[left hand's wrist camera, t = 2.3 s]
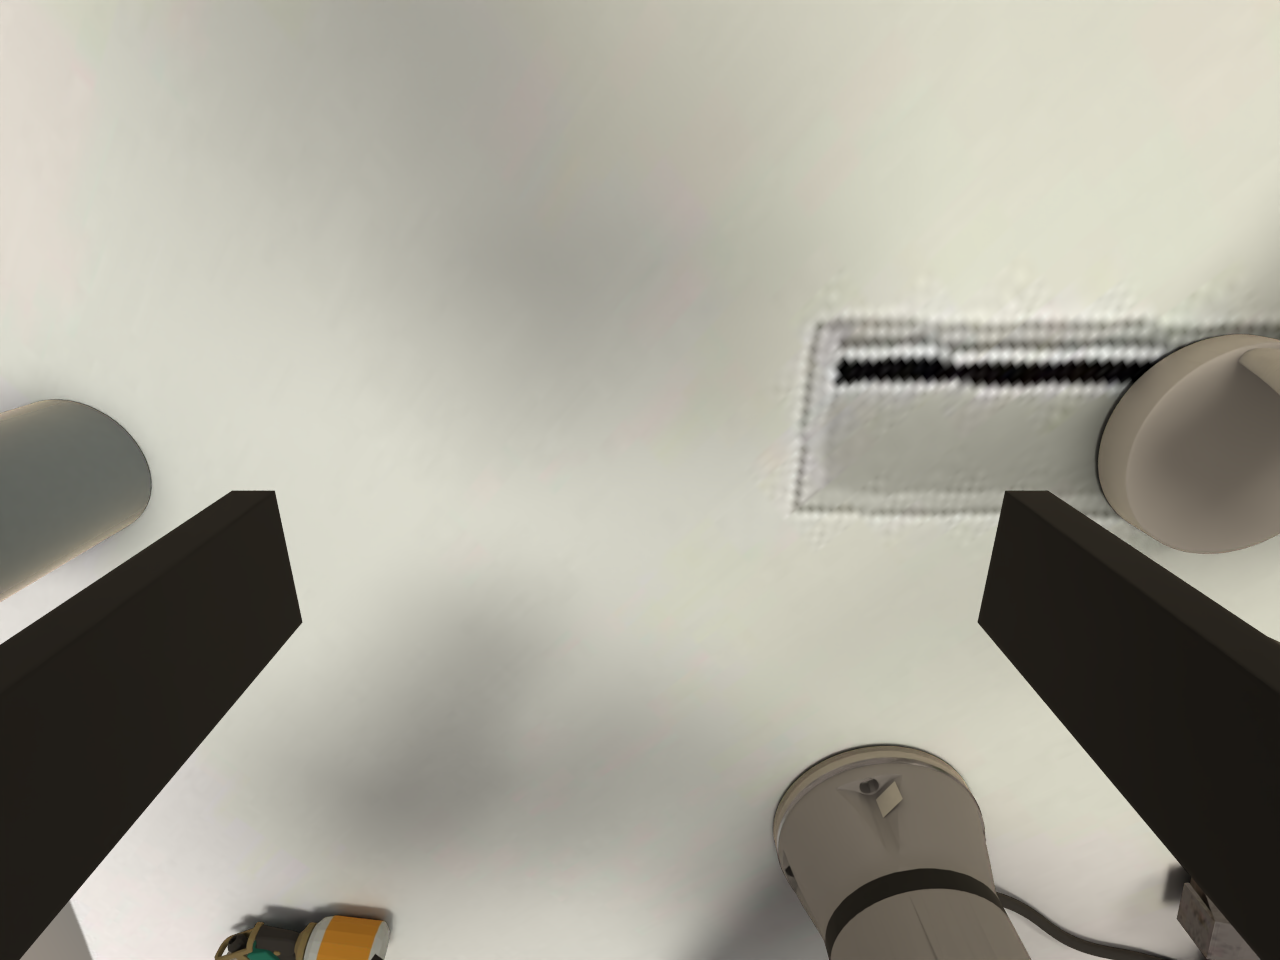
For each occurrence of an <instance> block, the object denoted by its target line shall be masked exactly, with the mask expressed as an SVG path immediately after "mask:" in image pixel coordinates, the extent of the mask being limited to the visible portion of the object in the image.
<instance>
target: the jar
mask: <svg viewBox="0 0 1280 960" xmlns="http://www.w3.org/2000/svg"><path fill="white" fill-rule="evenodd" d="M150 491H151V478H150V473H149V469H148V465H147V462H146V460H145V458H144V456H143V453H142V452H141V450H140V448H139V447H138V445H137V444H136V442H135V441H134V440H133V438H132V437H131V436H130V435H129V434H128V433H127V432H126V431H125V430H124V429H123V428H122V427H121V426H120V425H119V424H118V423H117V422H115V421H114V420H112V419H111V418H110V417H108V416H107V415H105V414H103V413H102V412H100V411H98V410H96V409H94V408H92V407H89V406H87V405H84V404H81V403H77V402H73V401H68V400H44V401H38V402H35V403H32V404H28V405H25V406H22V407H19V408H15V409H12V410H9V411H5V412H2V413H0V602H2V601H3V600H5V599H7V598H8V597H10V596H12V595H13V594H15V593H17V592H18V591H20V590H22V589H23V588H25V587H27V586H28V585H30V584H32V583H33V582H35V581H37V580H38V579H40V578H42V577H43V576H45V575H47V574H48V573H50V572H52V571H53V570H55V569H57V568H58V567H60V566H62V565H63V564H65V563H67V562H68V561H70V560H72V559H73V558H75V557H77V556H79V555H80V554H82V553H84V552H85V551H87V550H89V549H90V548H92V547H94V546H95V545H97V544H99V543H100V542H102V541H104V540H105V539H107V538H109V537H110V536H112V535H114V534H115V533H117V532H119V531H120V530H122V529H124V528H125V527H127V526H129V525H130V524H132V523H133V522H134V521H135V520H136V519H138V518H139V517H140V515H141V514H142V513H143V511H144V510H145V508H146V506H147V504H148V500H149V497H150Z"/></svg>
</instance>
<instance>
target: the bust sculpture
mask: <svg viewBox="0 0 1280 960" xmlns="http://www.w3.org/2000/svg"><path fill="white" fill-rule="evenodd" d="M1098 471H1099V478H1100V483H1101V487H1102V490H1103V492H1104V495H1105V497H1106V499H1107V500H1108V502H1109V504H1110V505H1111V507H1112V508H1113V509H1114V510H1115V511H1116V513H1117V514H1118V515H1119V516H1121V517H1122V518H1123V519H1124V520H1126V521H1127V522H1128V523H1130V524H1132V525H1133V526H1135V527H1136V528H1138V529H1140V530H1141V531H1143V532H1144V533H1146V534H1148V535H1149V536H1151V537H1153V538H1154V539H1156V540H1157V541H1159V542H1161V543H1163V544H1164V545H1167V546H1169V547H1171V548H1174V549H1177V550H1181V551H1185V552H1191V553H1200V554H1214V553H1225V552H1231V551H1236V550H1240V549H1244V548H1247V547H1250V546H1253V545H1256V544H1259V543H1261V542H1263V541H1266V540H1268V539H1270V538H1272V537H1274V536H1276V535H1278V534H1280V340H1278V339H1272V338H1267V337H1262V336H1256V335H1247V334H1234V335H1224V336H1218V337H1213V338H1209V339H1205V340H1202V341H1199V342H1196V343H1193V344H1191V345H1188V346H1186V347H1184V348H1182V349H1180V350H1178V351H1176V352H1174V353H1172V354H1171V355H1169V356H1167V357H1166V358H1164V359H1163V360H1161V361H1160V362H1158V363H1157V364H1155V365H1154V366H1153V367H1152V368H1150V369H1149V370H1148V371H1147V372H1145V373H1144V374H1143V375H1142V376H1141V377H1140V378H1139V379H1138V380H1137V381H1136V382H1135V383H1134V384H1133V385H1132V386H1131V387H1130V389H1129V390H1128V391H1127V392H1126V393H1125V395H1124V396H1123V397H1122V399H1121V400H1120V402H1119V403H1118V404H1117V406H1116V408H1115V409H1114V411H1113V413H1112V415H1111V417H1110V419H1109V421H1108V423H1107V425H1106V428H1105V430H1104V433H1103V436H1102V440H1101V444H1100V449H1099V457H1098Z"/></svg>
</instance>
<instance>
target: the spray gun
mask: <svg viewBox="0 0 1280 960" xmlns="http://www.w3.org/2000/svg"><path fill="white" fill-rule="evenodd" d="M389 936H390V930H389V928H388V925H387V923H386V922H385V921H381V920H372V919H364V918H355V917H346V916H338V915H336V916H330V917H325V918H324V919H322V920H321V921H320V922H319V923H314V922H311V923H309V924H308V925H307V927H306V928H305V929H304V930H303V931H302V932H301V933H300V934H299V933H298V932H295V931H292V930H286V929H281V928H276V927H271V926H266V925H264V923H263V922H257V923H256V925H255V926H254V928H252V929H249V930H246V931H244V932H241V933H238V934H235V935H232V936H230V937H228V938H227V939H226V940H224V941H223V943H222V944H221V946H220V947H219V949H218V951H217V953H216V955H215V960H371V959H372V958H373V956H374V955H375V954H376V955H378V956H379V957H381V958H382V959H383V960H384V958H385V955H386V951H387V947H388V942H389ZM247 937H248V938H249V939H248V938H247ZM227 946H228V951H229V952H228V953H227V955H224V956H222V954H223V952H224V950H225V948H226V947H227Z"/></svg>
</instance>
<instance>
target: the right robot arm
mask: <svg viewBox="0 0 1280 960" xmlns="http://www.w3.org/2000/svg"><path fill="white" fill-rule="evenodd" d="M773 833H774V841H775V845H776V850H777V855H778V859H779V863H780V866H781V869H782V871H783V873H784V875H785V877H786V879H787V880H788V882H789V884H790V885H791V887H792V888H793V890H794V891H795V892H796V894H797V896H798V898H799V900H800V902H801V903H802V905H803V907H804V908H805V910H806V912H807V913H808V915H809V917H810V918H811V920H812V921H813V923H814V925H815V926H816V928H817V930H818V931H819V933H820V934H821V936H822V938H823V939H824V942H825V946H826V949H827V953H828V957H829V960H1031V958H1030V956H1029V955H1028V953H1027V951H1026V949H1025V947H1024V945H1023V943H1022V941H1021V940H1020V938H1019V936H1018V934H1017V932H1016V930H1015V928H1014V926H1013V925H1012V923H1011V921H1010V919H1009V917H1008V915H1007V914H1006V912H1005V910H1004V908H1007V909H1010V910H1012V911H1014V912H1016V913H1018V914H1020V915H1022V916H1024V917H1025V918H1027V919H1029V920H1030V921H1032V922H1033V923H1034V924H1036V925H1037V926H1039V927H1040V928H1041V929H1042V930H1044V931H1045V932H1046V933H1048V934H1049V935H1051V936H1052V937H1053V938H1055V939H1057V940H1058V941H1060V942H1061V943H1063V944H1065V945H1067V946H1069V947H1071V948H1073V949H1076V950H1078V951H1081V952H1084V953H1087V954H1090V955H1094V956H1098V957H1102V958H1107V959H1112V960H1164V959H1161V958H1157V957H1154V956H1151V955H1147V954H1143V953H1139V952H1135V951H1130V950H1125V949H1119V948H1114V947H1108V946H1103V945H1099V944H1095V943H1091V942H1088V941H1085V940H1082V939H1080V938H1077V937H1075V936H1073V935H1070V934H1068V933H1067V932H1065V931H1063V930H1061V929H1060V928H1058V927H1057V926H1055V925H1054V924H1053V923H1051V922H1050V921H1049V920H1047V919H1046V918H1045V917H1043V916H1042V915H1041V914H1039V913H1038V912H1037V911H1035V910H1034V909H1032V908H1031V907H1029V906H1028V905H1026V904H1024V903H1022V902H1020V901H1018V900H1016V899H1014V898H1012V897H1009V896H1007V895H1004V894H1001V893H998V892H996V891H995V886H994V881H993V875H992V870H991V865H990V860H989V855H988V851H987V846H986V838H985V827H984V822H983V818H982V814H981V811H980V808H979V806H978V804H977V802H976V800H975V798H974V797H973V795H972V793H971V791H970V790H969V788H968V786H967V785H966V783H965V781H964V780H963V779H962V777H961V776H960V775H959V774H958V773H957V772H956V770H954V769H953V768H952V767H951V766H950V765H948V764H947V763H945V762H944V761H943V760H941V759H939V758H937V757H935V756H933V755H931V754H928V753H926V752H923V751H919V750H916V749H911V748H906V747H898V746H873V747H865V748H860V749H855V750H851V751H847V752H844V753H841V754H838V755H835V756H833V757H831V758H828V759H826V760H824V761H822V762H821V763H819V764H817V765H815V766H814V767H812V768H811V769H809V770H808V771H807V772H805V773H804V774H803V775H802V776H801V777H799V778H798V779H797V780H796V781H795V782H794V783H793V784H792V786H791V787H790V788H789V789H788V790H787V792H786V793H785V795H784V796H783V798H782V800H781V801H780V804H779V806H778V808H777V811H776V814H775V818H774V826H773ZM1003 907H1004V908H1003ZM371 960H383V959H382V958H381V957H379V956H378V955H376V954H375V955H374V956H373V958H372V959H371Z"/></svg>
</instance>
